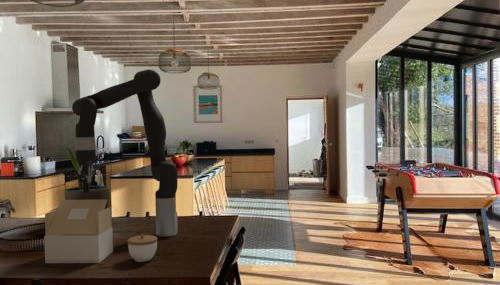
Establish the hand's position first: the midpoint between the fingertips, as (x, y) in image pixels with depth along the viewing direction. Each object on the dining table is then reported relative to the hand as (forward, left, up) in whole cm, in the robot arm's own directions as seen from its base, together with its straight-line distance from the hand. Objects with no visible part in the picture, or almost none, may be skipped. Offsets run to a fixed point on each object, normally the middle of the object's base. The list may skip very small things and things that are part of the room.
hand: (86, 192), depth 167 cm
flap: (0, +8, -8) cm, 11 cm away
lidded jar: (-25, +10, -24) cm, 36 cm away
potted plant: (+20, -47, -24) cm, 56 cm away
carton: (0, +7, -24) cm, 25 cm away
